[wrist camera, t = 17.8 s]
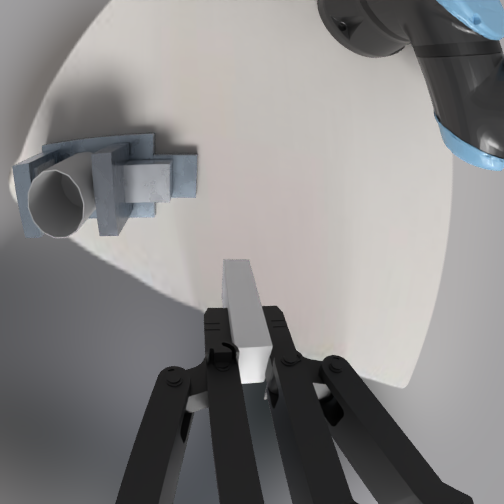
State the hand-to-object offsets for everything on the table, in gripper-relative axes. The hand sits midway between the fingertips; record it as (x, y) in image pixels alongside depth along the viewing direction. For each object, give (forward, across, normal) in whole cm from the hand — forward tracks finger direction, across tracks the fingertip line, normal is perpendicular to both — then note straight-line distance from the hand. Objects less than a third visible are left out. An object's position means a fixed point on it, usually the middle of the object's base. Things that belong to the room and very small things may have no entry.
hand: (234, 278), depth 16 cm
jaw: (+23, -11, 0) cm, 25 cm away
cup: (+23, -19, 0) cm, 30 cm away
